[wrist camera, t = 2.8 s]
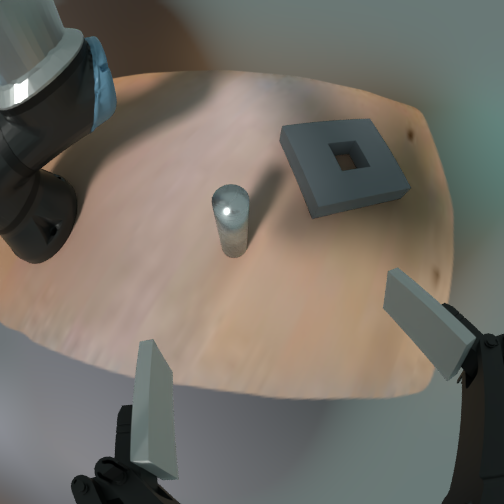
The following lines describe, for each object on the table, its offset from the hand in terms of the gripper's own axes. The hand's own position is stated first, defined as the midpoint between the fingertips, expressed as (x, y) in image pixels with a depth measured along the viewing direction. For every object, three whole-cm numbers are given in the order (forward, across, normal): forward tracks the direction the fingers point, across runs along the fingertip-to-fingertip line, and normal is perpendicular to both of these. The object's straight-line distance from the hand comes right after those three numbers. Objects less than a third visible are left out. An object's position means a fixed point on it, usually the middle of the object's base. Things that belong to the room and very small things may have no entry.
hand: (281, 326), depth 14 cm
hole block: (+27, +19, +1) cm, 33 cm away
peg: (+21, 0, -5) cm, 22 cm away
